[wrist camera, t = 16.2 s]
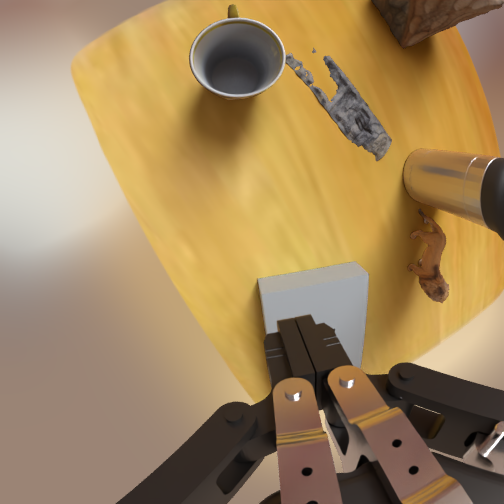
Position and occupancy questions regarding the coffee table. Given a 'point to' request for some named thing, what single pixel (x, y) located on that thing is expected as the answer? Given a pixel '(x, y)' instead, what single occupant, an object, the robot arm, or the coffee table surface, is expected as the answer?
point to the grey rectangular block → (321, 302)
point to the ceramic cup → (237, 57)
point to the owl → (429, 16)
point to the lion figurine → (431, 261)
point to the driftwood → (348, 109)
